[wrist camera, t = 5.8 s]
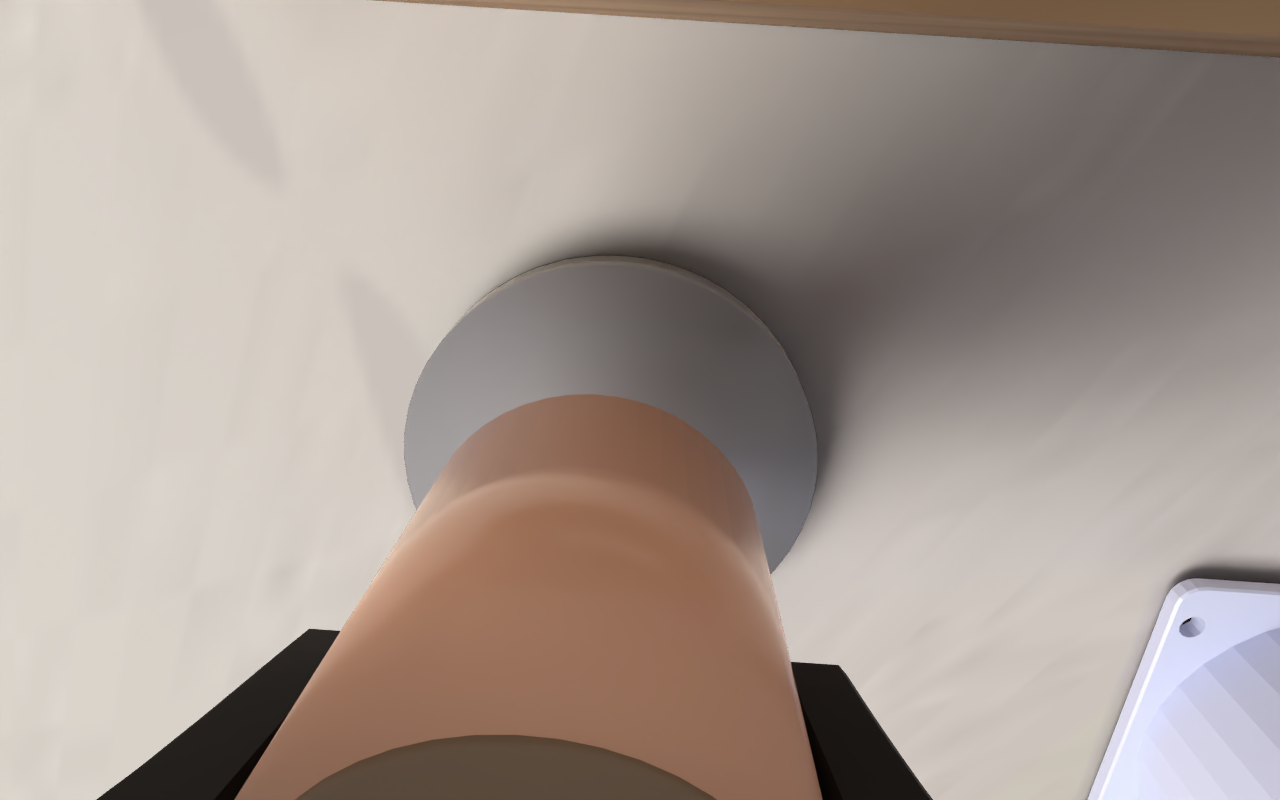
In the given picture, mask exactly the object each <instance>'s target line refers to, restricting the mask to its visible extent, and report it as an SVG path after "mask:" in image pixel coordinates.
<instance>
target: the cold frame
mask: <svg viewBox="0 0 1280 800" xmlns="http://www.w3.org/2000/svg"><path fill="white" fill-rule="evenodd" d="M377 1H393V2H409V3H425V4H441V5H457V6H473V7H489V8H505V9H520V10H536V11H552V12H568V13H584V14H600V15H616V16H632V17H648V18H664V19H680V20H696V21H711V22H727V23H743V24H759V25H775V26H791V27H807V28H823V29H839V30H855V31H871V32H886V33H902V34H918V35H934V36H950V37H966V38H982V39H998V40H1014V41H1030V42H1046V43H1061V44H1077V45H1093V46H1109V47H1125V48H1141V49H1157V50H1173V51H1189V52H1205V53H1221V54H1236V55H1252V56H1268V57H1280V0H377Z"/></svg>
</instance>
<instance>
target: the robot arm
mask: <svg viewBox="0 0 1280 800" xmlns="http://www.w3.org/2000/svg"><path fill="white" fill-rule="evenodd" d="M1189 618H1192V619H1191V620H1190V621H1189V622H1187V623H1185V624H1183V625H1181V624H1182V623H1183V621H1185V620H1187V619H1189ZM339 633H340V631H333V630H318V629H309V630H307V631H306V632H305V633H304V634H302V635H301V636H300V637H299V638H297V639H296V640H295V641H294V642H292V643H291V644H290V645H289V646H287V647H286V648H285V649H284V650H283V651H281V652H280V653H279V654H278V655H276V656H275V657H274V658H273V659H272V660H270V661H269V662H268V663H267V664H266V665H264V666H263V667H262V668H261V669H260V670H258V671H257V672H256V673H255V674H254V675H252V676H251V677H250V678H249V679H248V680H246V681H245V682H244V683H243V684H242V685H240V686H239V687H238V688H237V689H236V690H234V691H233V692H232V693H231V694H229V695H228V696H227V697H226V698H225V699H223V700H222V701H221V702H220V703H219V704H217V705H216V706H215V707H214V708H213V709H211V710H210V711H209V712H208V713H207V714H205V715H204V716H203V717H202V718H200V719H199V720H198V721H197V722H195V723H194V724H193V725H192V726H190V727H189V728H188V729H187V730H185V731H184V732H183V733H182V734H180V735H179V736H178V737H177V738H175V739H174V740H173V741H172V742H170V743H169V744H168V745H167V746H166V747H164V748H163V749H162V750H161V751H159V752H158V753H157V754H156V755H154V756H153V757H152V758H151V759H149V760H148V761H147V762H146V763H144V764H143V765H142V766H141V767H139V768H138V769H137V770H135V771H134V772H133V773H131V774H130V775H129V776H127V777H126V778H125V779H123V780H122V781H121V782H119V783H118V784H117V785H115V786H114V787H113V788H111V789H110V790H109V791H107V792H106V793H105V794H103V795H102V796H101V797H99V798H98V799H97V800H235V798H236V796H237V795H238V793H239V792H240V790H241V789H242V787H243V785H244V784H245V782H246V781H247V779H248V777H249V776H250V774H251V773H252V771H253V769H254V768H255V766H256V765H257V763H258V762H259V760H260V758H261V757H262V755H263V754H264V752H265V750H266V749H267V747H268V746H269V744H270V742H271V741H272V739H273V738H274V736H275V735H276V733H277V731H278V730H279V728H280V727H281V725H282V723H283V722H284V720H285V719H286V717H287V716H288V714H289V712H290V711H291V709H292V708H293V706H294V704H295V703H296V701H297V700H298V698H299V696H300V695H301V693H302V692H303V690H304V689H305V687H306V685H307V684H308V682H309V681H310V679H311V677H312V676H313V674H314V673H315V671H316V669H317V668H318V666H319V665H320V663H321V662H322V660H323V658H324V657H325V655H326V654H327V652H328V650H329V649H330V647H331V646H332V644H333V642H334V641H335V639H336V638H337V636H338V635H339ZM791 665H792V670H793V674H794V678H795V683H796V687H797V691H798V696H799V700H800V704H801V709H802V713H803V717H804V721H805V726H806V730H807V734H808V739H809V743H810V747H811V752H812V756H813V760H814V764H815V769H816V773H817V777H818V782H819V786H820V790H821V795H822V799H823V800H933V799H932V798H931V797H930V795H929V794H928V793H927V791H926V790H925V789H924V787H923V786H922V784H921V783H920V782H919V780H918V779H917V778H916V776H915V775H914V773H913V772H912V771H911V769H910V768H909V766H908V765H907V764H906V762H905V761H904V759H903V758H902V756H901V755H900V754H899V752H898V751H897V749H896V748H895V746H894V745H893V743H892V742H891V741H890V739H889V738H888V736H887V735H886V733H885V732H884V730H883V729H882V727H881V726H880V725H879V723H878V722H877V720H876V719H875V717H874V716H873V714H872V713H871V711H870V710H869V708H868V707H867V705H866V704H865V702H864V701H863V699H862V698H861V696H860V695H859V693H858V692H857V690H856V688H855V687H854V685H853V684H852V682H851V681H850V679H849V678H848V676H847V675H846V673H845V672H844V671H843V670H842V669H841V668H840V666H839V665H828V664H813V663H799V662H791ZM1087 800H1280V584H1273V583H1258V582H1244V581H1229V580H1215V579H1200V578H1196V579H1187V580H1185V581H1182V582H1180V583H1178V584H1177V585H1175V586H1174V587H1173V588H1172V589H1171V590H1170V592H1169V593H1168V595H1167V596H1166V599H1165V602H1164V604H1163V607H1162V609H1161V612H1160V614H1159V617H1158V620H1157V622H1156V625H1155V627H1154V630H1153V632H1152V635H1151V638H1150V640H1149V643H1148V645H1147V648H1146V650H1145V653H1144V656H1143V658H1142V661H1141V663H1140V666H1139V668H1138V671H1137V674H1136V676H1135V679H1134V681H1133V684H1132V686H1131V689H1130V692H1129V694H1128V697H1127V699H1126V702H1125V704H1124V707H1123V709H1122V712H1121V715H1120V717H1119V720H1118V722H1117V725H1116V727H1115V730H1114V733H1113V735H1112V738H1111V740H1110V743H1109V745H1108V748H1107V751H1106V753H1105V756H1104V758H1103V761H1102V763H1101V766H1100V769H1099V771H1098V774H1097V776H1096V779H1095V781H1094V784H1093V787H1092V789H1091V792H1090V794H1089V797H1088V799H1087Z"/></svg>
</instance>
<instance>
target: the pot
mask: <svg viewBox="0 0 1280 800" xmlns="http://www.w3.org/2000/svg"><path fill="white" fill-rule="evenodd" d="M235 800H823V799H822V795H821V790H820V786H819V782H818V777H817V773H816V769H815V764H814V760H813V756H812V752H811V747H810V743H809V739H808V734H807V730H806V726H805V721H804V717H803V713H802V709H801V704H800V700H799V696H798V691H797V687H796V683H795V678H794V674H793V670H792V665H791V661H790V657H789V653H788V648H787V644H786V640H785V635H784V631H783V627H782V622H781V618H780V614H779V609H778V605H777V601H776V597H775V592H774V588H773V584H772V579H771V575H770V571H769V566H768V562H767V558H766V554H765V549H764V545H763V541H762V536H761V532H760V528H759V523H758V519H757V516H756V512H755V509H754V505H753V502H752V500H751V497H750V495H749V493H748V491H747V488H746V486H745V484H744V482H743V480H742V479H741V477H740V476H739V474H738V473H737V471H736V469H735V468H734V466H733V465H732V464H731V462H730V461H729V460H728V459H727V458H726V457H725V455H724V454H723V453H722V452H721V451H720V450H719V448H718V447H717V446H715V445H714V444H713V443H712V442H711V441H710V440H709V439H708V438H706V437H705V436H704V435H703V434H702V433H701V432H699V431H698V430H696V429H695V428H693V427H692V426H690V425H689V424H687V423H686V422H685V421H683V420H681V419H679V418H677V417H675V416H673V415H671V414H669V413H668V412H666V411H664V410H661V409H659V408H656V407H653V406H650V405H648V404H645V403H642V402H639V401H634V400H630V399H626V398H621V397H617V396H607V395H597V394H578V395H564V396H558V397H551V398H545V399H542V400H538V401H535V402H531V403H528V404H524V405H522V406H519V407H517V408H515V409H512V410H510V411H508V412H505V413H503V414H502V415H500V416H498V417H497V418H495V419H493V420H492V421H490V422H488V423H487V424H485V425H484V426H482V427H481V428H480V429H479V430H477V431H476V432H475V433H474V434H472V435H471V436H470V437H469V438H468V439H467V440H466V441H465V442H464V443H463V444H462V445H461V446H460V447H459V448H458V449H457V450H456V451H455V452H454V454H453V455H452V456H451V458H450V459H449V461H448V462H447V464H446V465H445V467H444V468H443V470H442V471H441V473H440V474H439V476H438V477H437V479H436V481H435V482H434V484H433V485H432V487H431V488H430V490H429V492H428V493H427V495H426V496H425V498H424V500H423V501H422V503H421V504H420V506H419V508H418V509H417V511H416V512H415V514H414V515H413V517H412V519H411V520H410V522H409V523H408V525H407V527H406V528H405V530H404V531H403V533H402V535H401V536H400V538H399V539H398V541H397V542H396V544H395V546H394V547H393V549H392V550H391V552H390V554H389V555H388V557H387V558H386V560H385V562H384V563H383V565H382V566H381V568H380V569H379V571H378V573H377V574H376V576H375V577H374V579H373V581H372V582H371V584H370V585H369V587H368V589H367V590H366V592H365V593H364V595H363V596H362V598H361V600H360V601H359V603H358V604H357V606H356V608H355V609H354V611H353V612H352V614H351V615H350V617H349V619H348V620H347V622H346V623H345V625H344V627H343V628H342V630H341V631H340V633H339V635H338V636H337V638H336V639H335V641H334V642H333V644H332V646H331V647H330V649H329V650H328V652H327V654H326V655H325V657H324V658H323V660H322V662H321V663H320V665H319V666H318V668H317V669H316V671H315V673H314V674H313V676H312V677H311V679H310V681H309V682H308V684H307V685H306V687H305V689H304V690H303V692H302V693H301V695H300V696H299V698H298V700H297V701H296V703H295V704H294V706H293V708H292V709H291V711H290V712H289V714H288V716H287V717H286V719H285V720H284V722H283V723H282V725H281V727H280V728H279V730H278V731H277V733H276V735H275V736H274V738H273V739H272V741H271V742H270V744H269V746H268V747H267V749H266V750H265V752H264V754H263V755H262V757H261V758H260V760H259V762H258V763H257V765H256V766H255V768H254V769H253V771H252V773H251V774H250V776H249V777H248V779H247V781H246V782H245V784H244V785H243V787H242V789H241V790H240V792H239V793H238V795H237V796H236V798H235Z"/></svg>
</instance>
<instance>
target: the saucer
mask: <svg viewBox="0 0 1280 800" xmlns="http://www.w3.org/2000/svg"><path fill="white" fill-rule="evenodd" d="M578 394H597V395H607V396H617V397H621V398H626V399H630V400H634V401H639V402H642V403H645V404H648V405H650V406H653V407H656V408H659V409H661V410H664V411H666V412H668V413H669V414H671V415H673V416H675V417H677V418H679V419H681V420H683V421H685V422H686V423H687V424H689V425H690V426H692V427H693V428H695V429H696V430H698V431H699V432H701V433H702V434H703V435H704V436H705V437H706V438H708V439H709V440H710V441H711V442H712V443H713V444H714V445H715V446H717V447H718V448H719V450H720V451H721V452H722V453H723V454H724V455H725V457H726V458H727V459H728V460H729V461H730V462H731V464H732V465H733V466H734V468H735V469H736V471H737V473H738V474H739V476H740V477H741V479H742V480H743V482H744V484H745V486H746V488H747V491H748V493H749V495H750V497H751V500H752V502H753V505H754V509H755V512H756V516H757V519H758V523H759V528H760V532H761V536H762V541H763V545H764V549H765V554H766V558H767V562H768V566H769V571H770V574H771V573H772V572H773V571H774V570H775V569H776V568H777V567H778V565H779V564H780V563H781V561H782V560H783V559H784V557H785V556H786V555H787V554H788V552H789V551H790V549H791V547H792V546H793V544H794V542H795V541H796V539H797V537H798V535H799V534H800V532H801V530H802V527H803V525H804V522H805V520H806V517H807V515H808V512H809V510H810V507H811V503H812V498H813V494H814V490H815V486H816V476H817V465H818V455H817V437H816V432H815V427H814V422H813V418H812V413H811V410H810V407H809V404H808V402H807V399H806V396H805V394H804V391H803V388H802V386H801V383H800V381H799V379H798V376H797V374H796V371H795V369H794V367H793V365H792V363H791V362H790V360H789V358H788V356H787V354H786V352H785V351H784V349H783V347H782V346H781V344H780V343H779V341H778V340H777V339H776V337H775V336H774V335H773V333H772V332H771V331H770V329H769V328H768V327H767V325H766V324H765V323H764V322H763V321H762V320H761V319H760V318H759V317H758V316H757V315H756V314H755V313H754V312H753V311H752V310H751V309H750V308H749V307H748V306H746V305H745V304H744V303H742V302H741V301H740V300H738V299H737V298H736V297H735V296H733V295H732V294H731V293H729V292H728V291H727V290H725V289H723V288H721V287H720V286H718V285H716V284H714V283H713V282H711V281H709V280H708V279H706V278H704V277H702V276H700V275H697V274H695V273H692V272H690V271H687V270H685V269H683V268H680V267H678V266H674V265H670V264H666V263H663V262H659V261H655V260H651V259H645V258H637V257H630V256H587V257H580V258H572V259H566V260H562V261H558V262H555V263H551V264H547V265H543V266H540V267H538V268H535V269H533V270H530V271H528V272H526V273H523V274H521V275H519V276H516V277H514V278H513V279H511V280H509V281H508V282H506V283H504V284H502V285H501V286H499V287H497V288H496V289H494V290H492V291H491V292H490V293H489V294H487V295H486V296H485V297H484V298H482V299H481V300H480V301H479V302H477V303H476V304H475V305H474V306H473V307H472V308H471V309H470V310H469V311H468V312H467V313H466V314H465V315H464V316H463V317H462V318H461V319H460V320H459V321H458V323H457V324H456V325H455V326H454V327H453V328H452V329H451V331H450V332H449V333H448V334H447V335H446V337H445V338H444V339H443V340H442V341H441V343H440V344H439V346H438V347H437V349H436V350H435V351H434V353H433V354H432V356H431V357H430V359H429V360H428V362H427V363H426V365H425V367H424V369H423V371H422V373H421V375H420V378H419V379H418V382H417V384H416V386H415V389H414V392H413V395H412V398H411V402H410V405H409V408H408V414H407V421H406V426H405V433H404V459H405V467H406V474H407V481H408V485H409V488H410V492H411V495H412V499H413V502H414V505H415V507H416V510H417V509H418V508H419V506H420V504H421V503H422V501H423V500H424V498H425V496H426V495H427V493H428V492H429V490H430V488H431V487H432V485H433V484H434V482H435V481H436V479H437V477H438V476H439V474H440V473H441V471H442V470H443V468H444V467H445V465H446V464H447V462H448V461H449V459H450V458H451V456H452V455H453V454H454V452H455V451H456V450H457V449H458V448H459V447H460V446H461V445H462V444H463V443H464V442H465V441H466V440H467V439H468V438H469V437H470V436H471V435H472V434H474V433H475V432H476V431H477V430H479V429H480V428H481V427H482V426H484V425H485V424H487V423H488V422H490V421H492V420H493V419H495V418H497V417H498V416H500V415H502V414H503V413H505V412H508V411H510V410H512V409H515V408H517V407H519V406H522V405H524V404H528V403H531V402H535V401H538V400H542V399H545V398H551V397H558V396H564V395H578Z"/></svg>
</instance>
